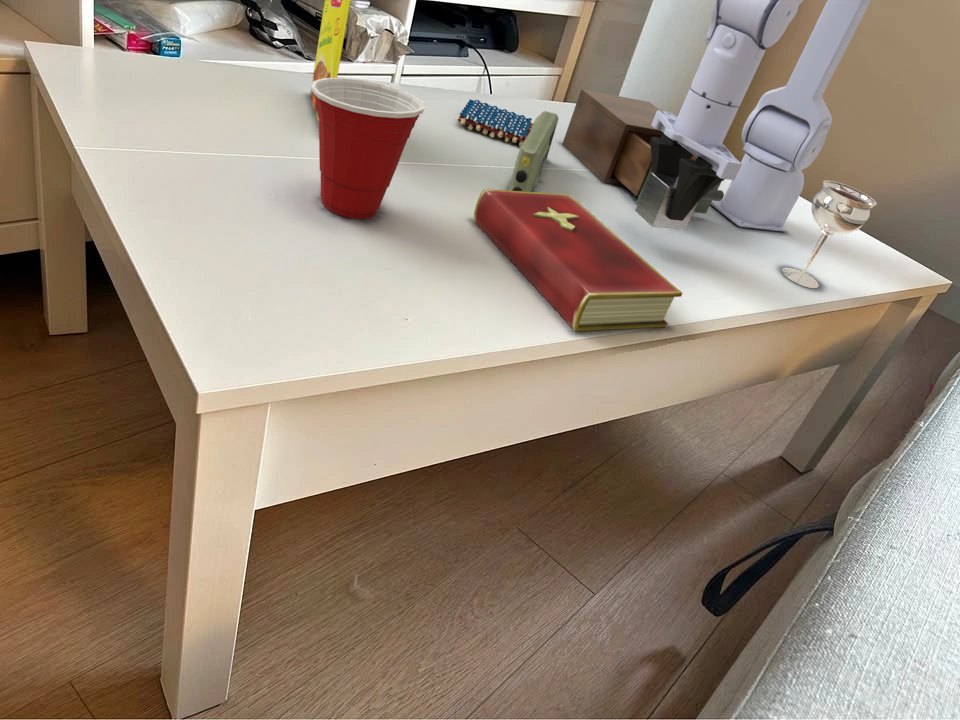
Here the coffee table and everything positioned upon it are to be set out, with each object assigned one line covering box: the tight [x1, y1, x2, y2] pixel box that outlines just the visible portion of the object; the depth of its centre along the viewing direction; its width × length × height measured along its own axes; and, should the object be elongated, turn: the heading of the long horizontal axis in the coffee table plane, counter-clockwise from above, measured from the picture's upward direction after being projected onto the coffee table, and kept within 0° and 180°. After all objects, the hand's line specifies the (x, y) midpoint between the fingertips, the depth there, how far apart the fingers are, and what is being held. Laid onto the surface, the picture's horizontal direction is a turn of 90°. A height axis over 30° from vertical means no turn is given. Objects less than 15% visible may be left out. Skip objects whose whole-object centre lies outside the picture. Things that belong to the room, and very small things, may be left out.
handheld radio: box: [507, 110, 559, 192], centre depth 96 cm, size 7×3×25 cm
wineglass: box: [781, 180, 878, 289], centre depth 95 cm, size 7×7×12 cm
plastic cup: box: [310, 77, 426, 220], centre depth 75 cm, size 11×11×12 cm
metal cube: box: [634, 172, 697, 231], centre depth 90 cm, size 5×4×5 cm
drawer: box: [612, 130, 725, 215], centre depth 105 cm, size 17×11×7 cm
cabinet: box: [561, 88, 664, 187], centre depth 113 cm, size 14×13×9 cm
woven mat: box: [457, 98, 534, 148], centre depth 114 cm, size 10×11×2 cm
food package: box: [309, 0, 352, 123], centre depth 92 cm, size 15×1×20 cm, turn 17°
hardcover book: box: [473, 188, 683, 332], centre depth 79 cm, size 12×21×4 cm, turn 28°
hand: (664, 209), depth 90 cm, fingers closed on metal cube, 4 cm apart
